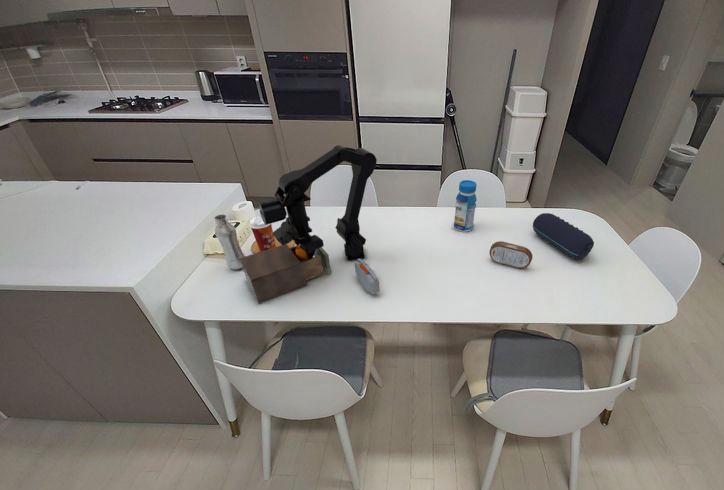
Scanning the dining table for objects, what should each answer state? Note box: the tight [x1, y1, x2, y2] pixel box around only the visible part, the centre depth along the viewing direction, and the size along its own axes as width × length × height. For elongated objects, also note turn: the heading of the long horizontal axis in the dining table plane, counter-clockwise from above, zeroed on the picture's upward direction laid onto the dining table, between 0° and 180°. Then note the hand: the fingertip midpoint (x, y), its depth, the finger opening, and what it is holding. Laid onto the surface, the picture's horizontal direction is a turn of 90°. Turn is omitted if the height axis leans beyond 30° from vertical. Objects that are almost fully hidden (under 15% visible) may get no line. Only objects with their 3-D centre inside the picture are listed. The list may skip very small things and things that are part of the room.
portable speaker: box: [532, 212, 595, 261], centre depth 135 cm, size 25×10×10 cm, turn 26°
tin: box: [489, 240, 534, 269], centre depth 125 cm, size 15×3×8 cm, turn 65°
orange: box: [296, 244, 315, 260], centre depth 118 cm, size 6×6×7 cm
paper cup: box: [248, 215, 277, 252], centre depth 129 cm, size 8×8×14 cm
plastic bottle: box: [214, 214, 246, 270], centre depth 120 cm, size 6×7×20 cm
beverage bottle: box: [453, 179, 478, 233], centre depth 143 cm, size 8×8×20 cm
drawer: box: [289, 245, 332, 281], centre depth 120 cm, size 16×12×8 cm
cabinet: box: [239, 244, 307, 304], centre depth 115 cm, size 16×14×10 cm
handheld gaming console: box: [353, 258, 381, 295], centre depth 115 cm, size 14×3×8 cm, turn 32°
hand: (306, 255), depth 119 cm, fingers closed on orange, 6 cm apart
